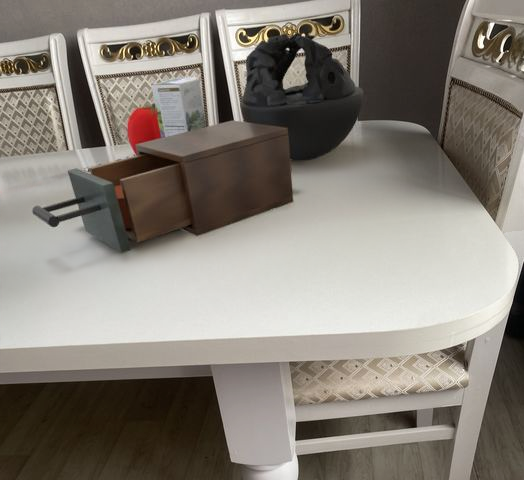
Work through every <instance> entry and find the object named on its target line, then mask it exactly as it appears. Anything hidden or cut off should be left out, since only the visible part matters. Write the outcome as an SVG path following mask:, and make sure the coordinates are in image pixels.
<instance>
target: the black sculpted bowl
mask: <svg viewBox="0 0 524 480" xmlns="http://www.w3.org/2000/svg"><path fill="white" fill-rule="evenodd" d="M314 38H315V35H309V34H308V35H305V36H304V35H302V33H301V32H296V33H294V34H293V35H291V36H288V34H287V33H282V34H280V35H275V36H270V37H268V38H267V41H265V40H261V41H260V42H259V43H258V44H257V45H256V47H255V48H254V49H253V50H251V52H250V53H249V54H248V55H247V56H246V59H245V69H246V80H245V81H246V83H245V87H244V91H243V95H242V96H241V99H242V101H240V104H239V107H240V112H241V115H242V119H243V122H247V123H255V124H262V125H270V126H277V127H284V128H288V138H289V151H290V161H294V162H299V161H301V162H303V161H310V160H315V159H317V158H320V157H323V156H325V155H327V154H329V153H330V152H332V151H333V150H335V149H336V148H338V146H340V145H341V144H342V143H343V142H344V140H345V139H347V137H348V136H349V134H350V133H351V132H352V130H353V128H354V127H355V125H356V123H357V120H358V119H359V116H360V113H361V109H362V105H363V99H364V90H363V88H362V87H359V86H356V83H355V82H354V80H353V79H352V78H351V76H350V74H349V73H348V71H347V69H345V67H344V65H343V64H342V62H340V61H339V59H337V58H333V53H332V51H331V50H330V49H329V47H327V46H326V45H324V44H321V43H319V42H317V41H316V40H314ZM301 49H302V51H303V53H304V64H303V65H304V70H305V78H306V81H307V82H306V83H304V84H301V85H300V84H299V85H294V86H290V87H287V88H284V78H285V76H286V74H287V73H288V70H289V69H290V68H291V66H292V64H293V62H294V61H295V60H296V58H297V55H298V52H299V51H300V50H301Z"/></svg>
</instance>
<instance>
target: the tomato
mask: <svg viewBox="0 0 524 480" xmlns="http://www.w3.org/2000/svg"><path fill="white" fill-rule="evenodd" d="M134 108H136V109H134V110H133V111H132V113H131V114H130V116H129V118H128V121H127V125H126V127H127V129H126V133H127V138H128V143H129V145H130V147H131V149H132V151H133V153H134V155H135V156H138V155H137V150H136V146H135V145H136V144H140V143H144V142H148V141H152V140H156V139H160V138H161V134H160V128H159V123H158V118H157V113H156V107H155V103H152V104H151V106H150V105H145V104H144V106H142V107H141V106H138V107H137V105H136V106H134Z"/></svg>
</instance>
